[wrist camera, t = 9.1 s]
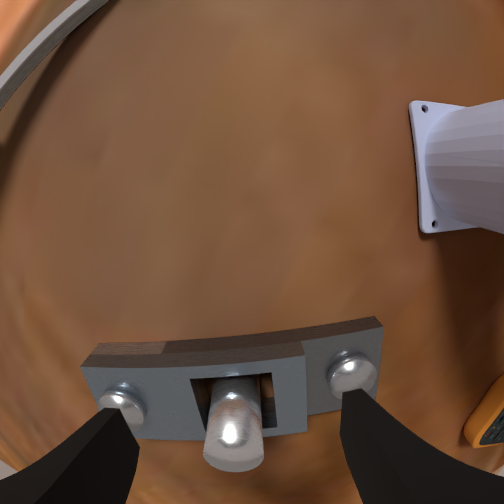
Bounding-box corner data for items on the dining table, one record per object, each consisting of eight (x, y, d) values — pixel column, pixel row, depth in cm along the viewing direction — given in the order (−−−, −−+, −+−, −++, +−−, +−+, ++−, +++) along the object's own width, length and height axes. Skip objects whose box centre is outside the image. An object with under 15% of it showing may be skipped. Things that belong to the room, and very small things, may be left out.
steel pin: (253, 353, 18) (256, 434, 11) (263, 386, 19) (269, 467, 12) (209, 361, 18) (194, 441, 11) (222, 394, 19) (214, 474, 12)
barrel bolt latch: (374, 316, 18) (399, 345, 14) (368, 388, 19) (386, 422, 15) (99, 343, 18) (74, 373, 14) (125, 409, 19) (110, 443, 16)
